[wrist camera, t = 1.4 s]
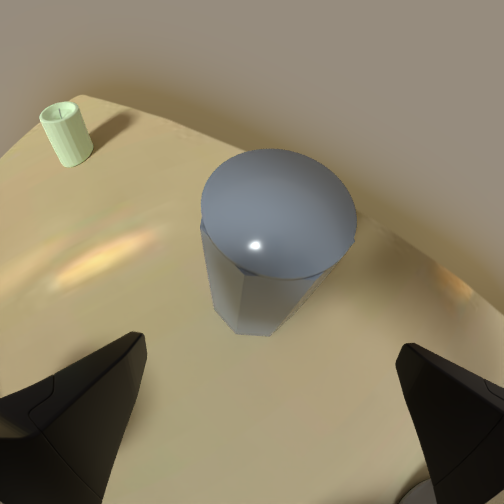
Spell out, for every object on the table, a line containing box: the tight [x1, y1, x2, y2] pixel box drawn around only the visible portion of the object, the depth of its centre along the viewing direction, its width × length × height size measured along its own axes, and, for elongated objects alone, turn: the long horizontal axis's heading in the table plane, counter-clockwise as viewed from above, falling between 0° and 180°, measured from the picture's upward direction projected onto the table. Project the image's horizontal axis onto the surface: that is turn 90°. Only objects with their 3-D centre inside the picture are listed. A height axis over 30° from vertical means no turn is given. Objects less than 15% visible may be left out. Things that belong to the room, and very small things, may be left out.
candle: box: [39, 102, 93, 167], centre depth 25 cm, size 5×5×8 cm
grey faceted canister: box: [200, 149, 357, 336], centre depth 17 cm, size 7×7×12 cm
